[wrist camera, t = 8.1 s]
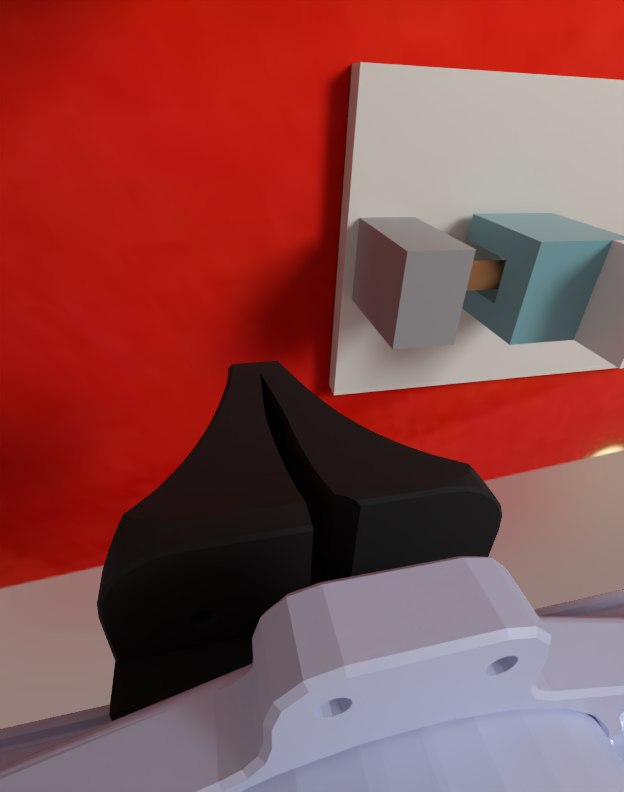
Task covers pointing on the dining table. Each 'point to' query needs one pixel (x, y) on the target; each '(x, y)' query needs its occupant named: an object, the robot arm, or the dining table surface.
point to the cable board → (459, 214)
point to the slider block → (552, 282)
